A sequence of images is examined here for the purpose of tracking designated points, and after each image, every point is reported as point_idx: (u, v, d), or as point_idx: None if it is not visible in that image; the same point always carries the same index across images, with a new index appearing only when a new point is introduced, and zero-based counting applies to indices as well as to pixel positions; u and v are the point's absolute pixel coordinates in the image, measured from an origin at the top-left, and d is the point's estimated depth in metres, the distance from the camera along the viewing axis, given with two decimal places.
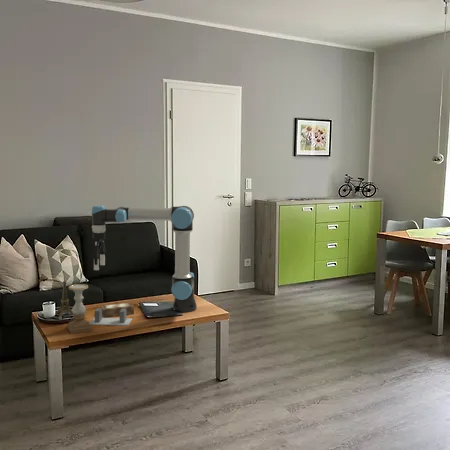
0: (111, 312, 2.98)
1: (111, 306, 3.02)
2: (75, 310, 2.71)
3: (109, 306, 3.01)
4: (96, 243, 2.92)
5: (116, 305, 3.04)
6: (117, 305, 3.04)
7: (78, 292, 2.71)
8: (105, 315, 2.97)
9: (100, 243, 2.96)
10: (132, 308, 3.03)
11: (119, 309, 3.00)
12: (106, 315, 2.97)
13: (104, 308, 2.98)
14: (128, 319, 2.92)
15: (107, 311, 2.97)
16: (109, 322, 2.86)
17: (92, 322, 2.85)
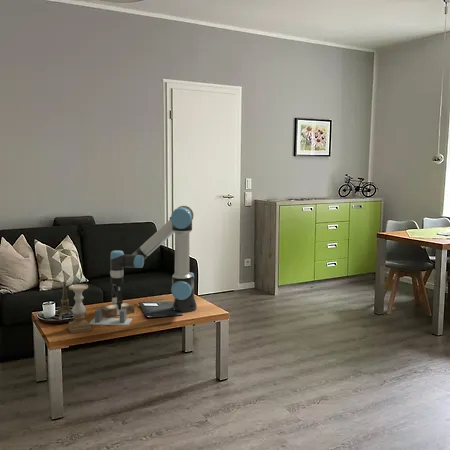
0: (113, 312, 2.97)
1: (112, 306, 3.01)
2: (75, 310, 2.71)
3: (109, 307, 3.00)
4: (119, 288, 2.96)
5: (116, 305, 3.04)
6: None
7: (78, 292, 2.71)
8: (108, 316, 2.96)
9: None
10: (133, 307, 3.05)
11: None
12: (109, 316, 2.96)
13: (106, 309, 2.97)
14: (128, 319, 2.92)
15: (110, 312, 2.96)
16: (109, 322, 2.86)
17: (92, 322, 2.85)
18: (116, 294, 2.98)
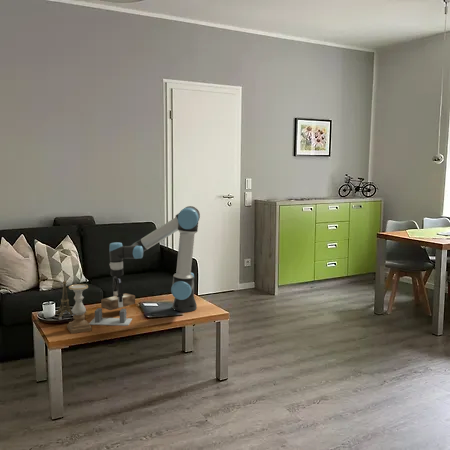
0: (116, 303, 2.97)
1: (113, 298, 3.00)
2: (75, 310, 2.71)
3: (111, 298, 2.99)
4: (120, 281, 2.95)
5: None
6: None
7: (78, 292, 2.71)
8: (112, 307, 2.94)
9: None
10: (133, 297, 3.06)
11: (123, 299, 3.00)
12: (112, 307, 2.95)
13: (109, 300, 2.96)
14: (128, 319, 2.92)
15: (113, 303, 2.95)
16: (109, 322, 2.86)
17: (92, 322, 2.85)
18: (117, 286, 2.97)
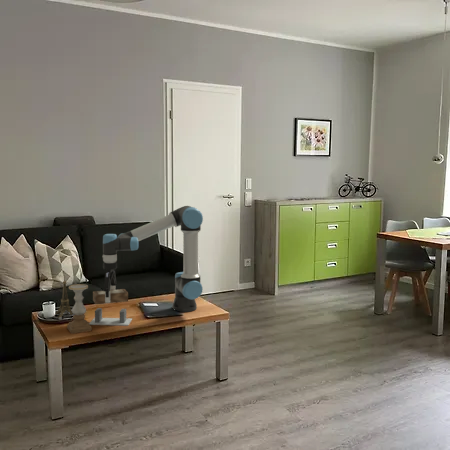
0: (104, 298, 2.80)
1: (104, 292, 2.84)
2: (75, 310, 2.71)
3: (101, 292, 2.84)
4: (107, 275, 2.78)
5: None
6: (110, 291, 2.86)
7: (78, 292, 2.71)
8: (97, 301, 2.79)
9: (111, 274, 2.82)
10: (126, 294, 2.85)
11: (112, 295, 2.82)
12: (98, 301, 2.79)
13: (96, 294, 2.81)
14: (128, 319, 2.92)
15: (99, 297, 2.79)
16: (109, 322, 2.86)
17: (92, 322, 2.85)
18: None
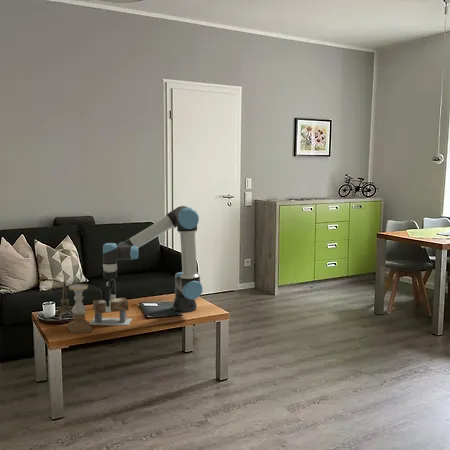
0: (104, 307, 2.81)
1: (104, 301, 2.85)
2: (75, 310, 2.71)
3: (102, 301, 2.84)
4: (107, 284, 2.78)
5: None
6: (111, 300, 2.87)
7: (78, 292, 2.71)
8: (98, 310, 2.80)
9: (111, 283, 2.83)
10: (126, 303, 2.86)
11: (112, 304, 2.83)
12: (99, 310, 2.80)
13: (97, 303, 2.82)
14: (128, 319, 2.92)
15: (99, 307, 2.80)
16: (109, 322, 2.86)
17: (92, 322, 2.85)
18: None
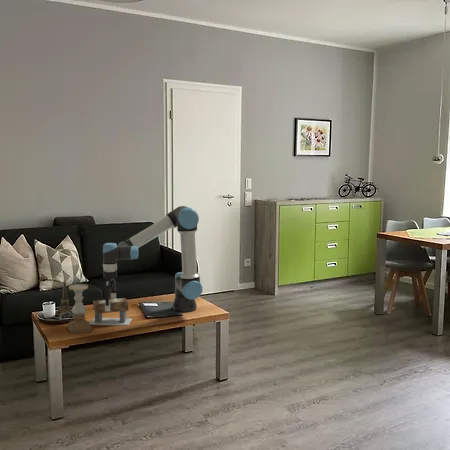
0: (104, 307, 2.81)
1: (104, 301, 2.85)
2: (75, 310, 2.71)
3: (102, 301, 2.84)
4: (107, 283, 2.78)
5: None
6: (111, 300, 2.87)
7: (78, 292, 2.71)
8: (97, 311, 2.80)
9: (111, 282, 2.83)
10: (126, 303, 2.86)
11: (112, 304, 2.83)
12: (99, 311, 2.80)
13: (97, 303, 2.82)
14: (128, 319, 2.92)
15: (99, 307, 2.80)
16: (109, 322, 2.86)
17: (92, 322, 2.85)
18: None
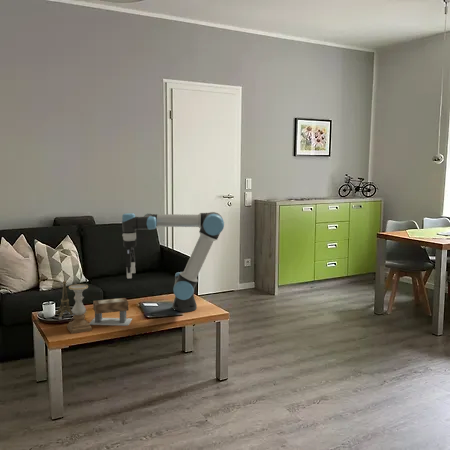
0: (104, 307, 2.81)
1: (104, 301, 2.85)
2: (75, 310, 2.71)
3: (102, 301, 2.84)
4: (128, 251, 2.90)
5: (109, 300, 2.87)
6: (111, 300, 2.87)
7: (78, 292, 2.71)
8: (97, 311, 2.80)
9: (131, 251, 2.95)
10: (126, 303, 2.86)
11: (112, 304, 2.83)
12: (99, 311, 2.80)
13: (97, 303, 2.82)
14: (128, 319, 2.92)
15: (99, 307, 2.80)
16: (109, 322, 2.86)
17: (92, 322, 2.85)
18: None
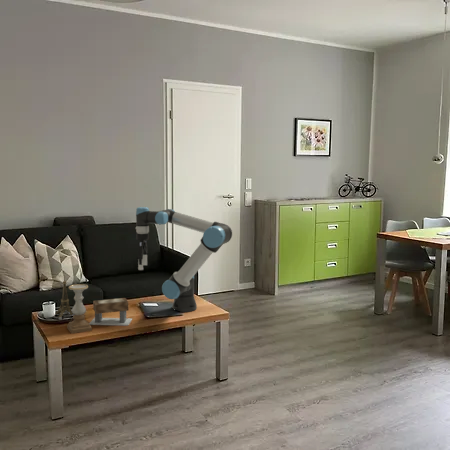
0: (104, 307, 2.81)
1: (104, 301, 2.85)
2: (75, 310, 2.71)
3: (102, 301, 2.84)
4: (141, 244, 2.99)
5: (109, 300, 2.87)
6: (111, 300, 2.87)
7: (78, 292, 2.71)
8: (97, 311, 2.80)
9: (144, 244, 3.04)
10: (126, 303, 2.86)
11: (112, 304, 2.83)
12: (99, 311, 2.80)
13: (97, 303, 2.82)
14: (128, 319, 2.92)
15: (99, 307, 2.80)
16: (109, 322, 2.86)
17: (92, 322, 2.85)
18: None
